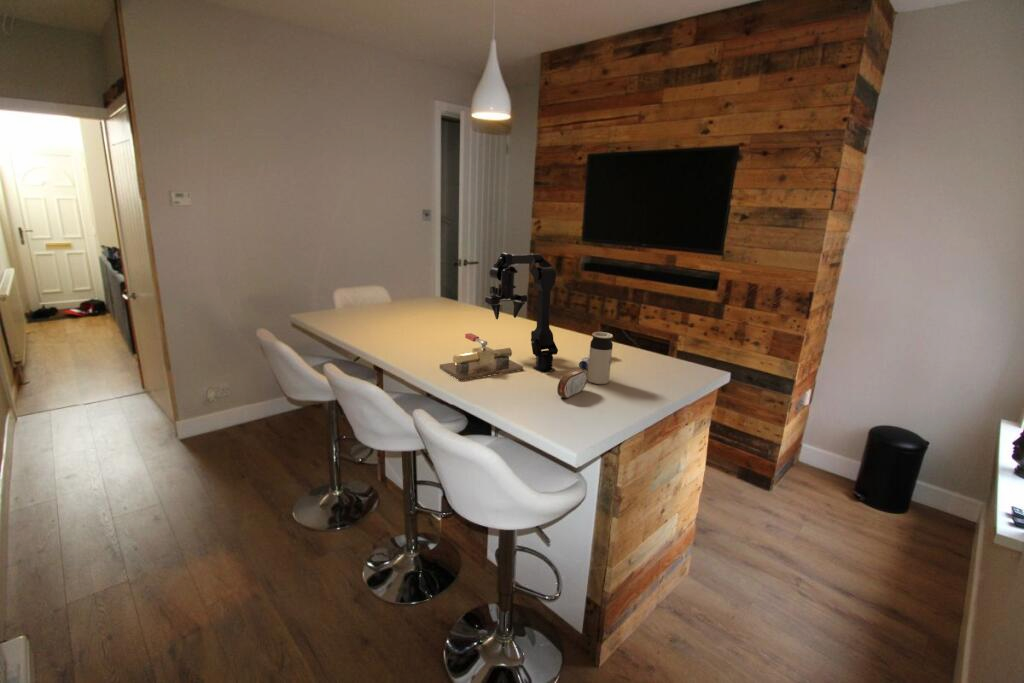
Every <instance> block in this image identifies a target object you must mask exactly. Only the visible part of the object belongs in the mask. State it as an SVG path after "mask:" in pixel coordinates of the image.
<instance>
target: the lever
mask: <svg viewBox="0 0 1024 683" xmlns="http://www.w3.org/2000/svg"><path fill="white" fill-rule="evenodd" d="M464 336H465V338H466V340H468V341H469V340H470V341H471V342H473V343H474V342H476V343H479V345H481V346H482V345H486V346H487V345H488V344H489V342H488V341H487V340H482V339H481V338H480V337H479V335H476V334H474V333H465V334H464Z"/></svg>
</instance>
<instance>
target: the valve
mask: <svg viewBox="0 0 1024 683" xmlns="http://www.w3.org/2000/svg"><path fill="white" fill-rule="evenodd" d="M512 355H513V351H512V349H511V347H504V348H498V349H493V348H490V347H488V346H487V345H481V347H475V348H474V347H473V348H472V352H467V353H462V354H454V355H453V358H452V362H450V363H449V362H448V363H441V364H439V369H440V370H441V369H442V370H441V371H443V372H445V373H446V372H447V373H446V374H448V375H449V374H450V375H449V376H450V377H452V376H453V377H452V378H454V377H455V378H456V380H457V379H458V380H459V381H458V380H457V381H458V382H461V381H460V380H462V381H466V380H465V379H468V380H471V379H470V378H474V379H478V378H477V377H480V378H484V377H483V376H486V377H489V376H488V375H491V376H495V375H494V374H497V375H501V374H500V373H503V374H507V373H506V372H509V373H512V372H511V371H515V372H518V371H517V370H521V371H523V370H524V366H523V365H521V364H519V363H517V362H515V361H513V360H511V359H510V358H511V357H512ZM455 378H454V379H455Z"/></svg>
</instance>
